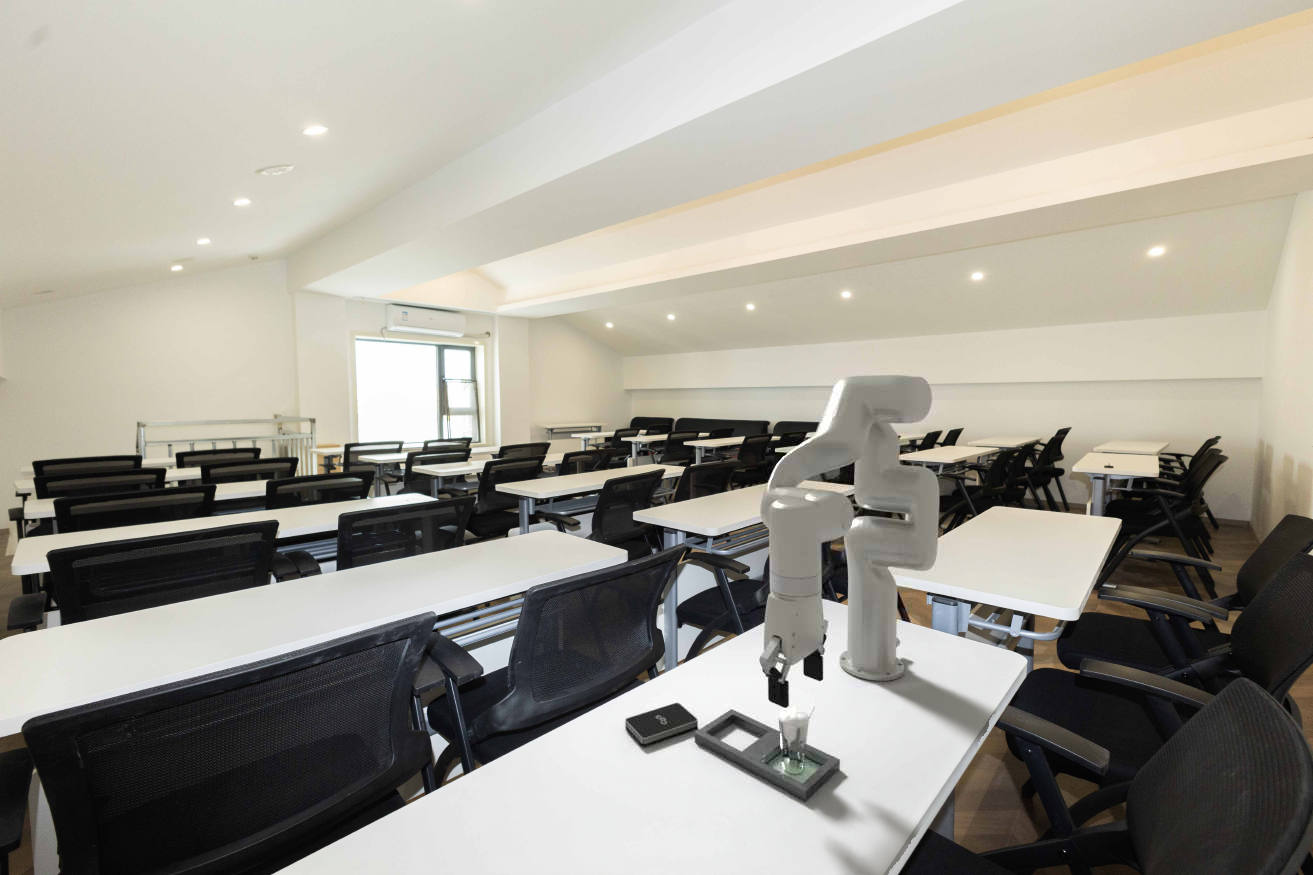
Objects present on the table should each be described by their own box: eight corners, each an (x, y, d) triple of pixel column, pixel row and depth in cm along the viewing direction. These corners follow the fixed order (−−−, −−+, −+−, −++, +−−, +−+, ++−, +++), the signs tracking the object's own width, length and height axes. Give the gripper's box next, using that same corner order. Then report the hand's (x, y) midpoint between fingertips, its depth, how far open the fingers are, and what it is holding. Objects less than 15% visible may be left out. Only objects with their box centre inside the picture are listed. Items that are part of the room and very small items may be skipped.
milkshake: (814, 779, 88) (814, 715, 87) (777, 774, 89) (777, 711, 88) (813, 760, 92) (814, 699, 91) (778, 756, 93) (778, 695, 92)
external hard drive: (699, 731, 102) (699, 720, 101) (642, 751, 96) (642, 739, 96) (678, 712, 108) (678, 701, 107) (623, 730, 102) (623, 719, 102)
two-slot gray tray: (731, 717, 105) (731, 708, 105) (839, 769, 90) (839, 759, 90) (694, 741, 98) (694, 732, 98) (805, 801, 83) (805, 791, 83)
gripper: (803, 562, 97) (804, 661, 99) (739, 592, 84) (742, 705, 86) (846, 571, 91) (846, 676, 93) (785, 606, 79) (786, 725, 81)
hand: (796, 690), depth 90 cm, fingers open, 9 cm apart
